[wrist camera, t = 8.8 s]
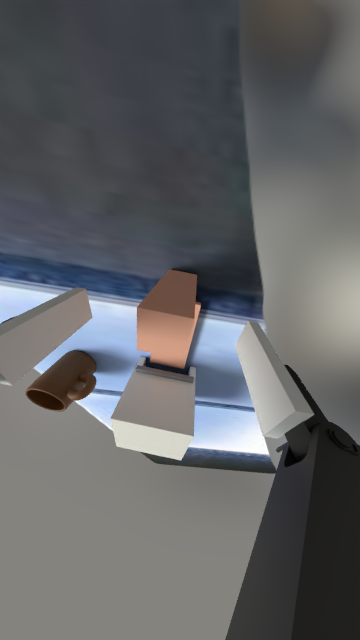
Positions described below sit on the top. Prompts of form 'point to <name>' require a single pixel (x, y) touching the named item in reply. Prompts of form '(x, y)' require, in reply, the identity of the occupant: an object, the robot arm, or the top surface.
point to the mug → (64, 382)
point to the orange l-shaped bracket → (169, 319)
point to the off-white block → (156, 412)
